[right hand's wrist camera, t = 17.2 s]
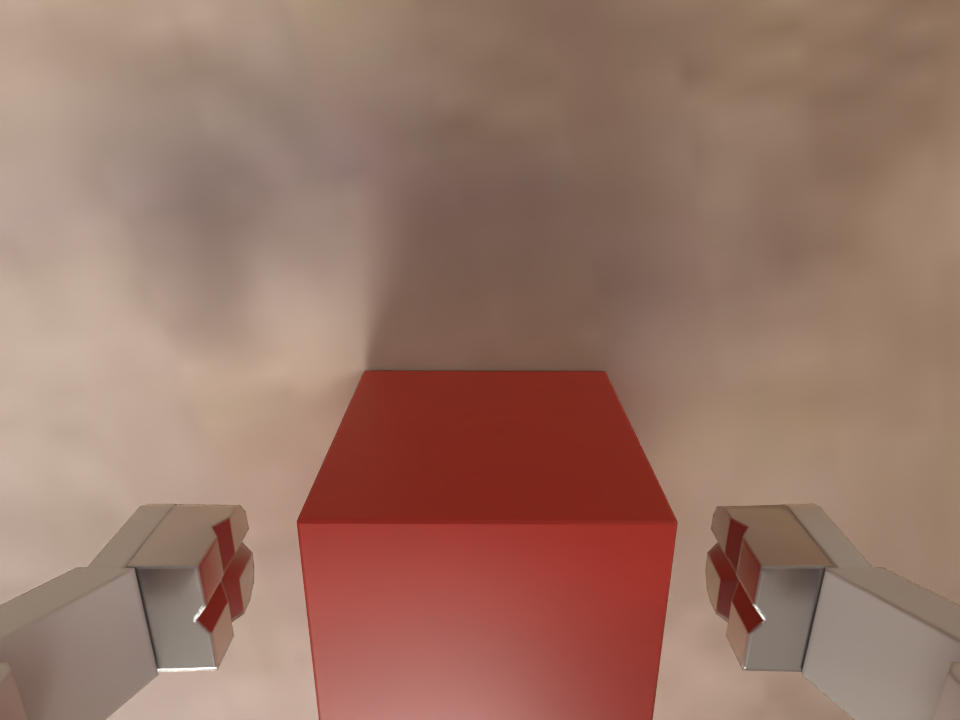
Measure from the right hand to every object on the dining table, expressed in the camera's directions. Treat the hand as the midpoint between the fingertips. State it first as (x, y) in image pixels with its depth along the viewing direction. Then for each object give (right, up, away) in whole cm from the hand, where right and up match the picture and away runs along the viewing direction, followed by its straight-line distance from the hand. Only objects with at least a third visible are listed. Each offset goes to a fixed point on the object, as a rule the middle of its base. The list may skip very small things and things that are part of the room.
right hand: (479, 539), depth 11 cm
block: (0, 0, +2) cm, 2 cm away
